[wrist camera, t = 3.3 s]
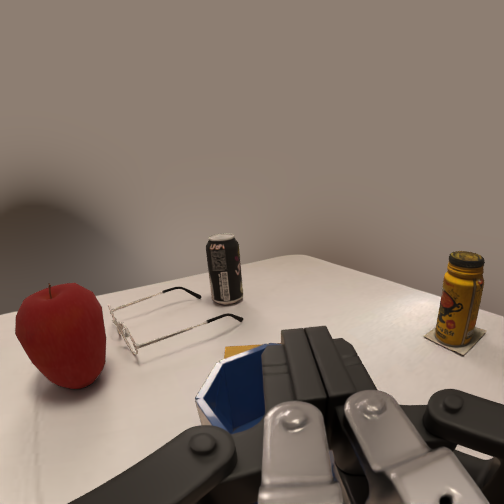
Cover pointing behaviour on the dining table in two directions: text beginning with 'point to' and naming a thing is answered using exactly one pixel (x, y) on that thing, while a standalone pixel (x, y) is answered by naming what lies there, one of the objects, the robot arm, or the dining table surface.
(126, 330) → the eyeglasses
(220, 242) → the beverage can
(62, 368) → the apple
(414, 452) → the robot arm
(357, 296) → the dining table surface
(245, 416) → the glazed bowl
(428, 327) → the dining table surface
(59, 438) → the dining table surface
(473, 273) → the condiment
